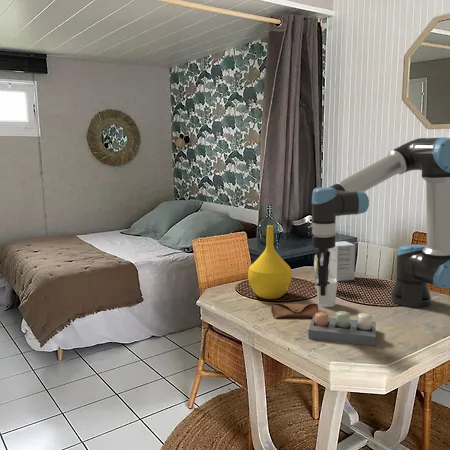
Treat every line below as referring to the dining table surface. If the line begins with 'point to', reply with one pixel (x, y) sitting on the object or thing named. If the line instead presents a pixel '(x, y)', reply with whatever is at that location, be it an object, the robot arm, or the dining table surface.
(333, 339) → the panel
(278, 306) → the sunglasses case
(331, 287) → the white cup
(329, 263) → the beer glass
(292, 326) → the dining table surface
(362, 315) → the button cream
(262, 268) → the vase
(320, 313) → the button terracotta
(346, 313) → the button sage
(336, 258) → the supplement box
